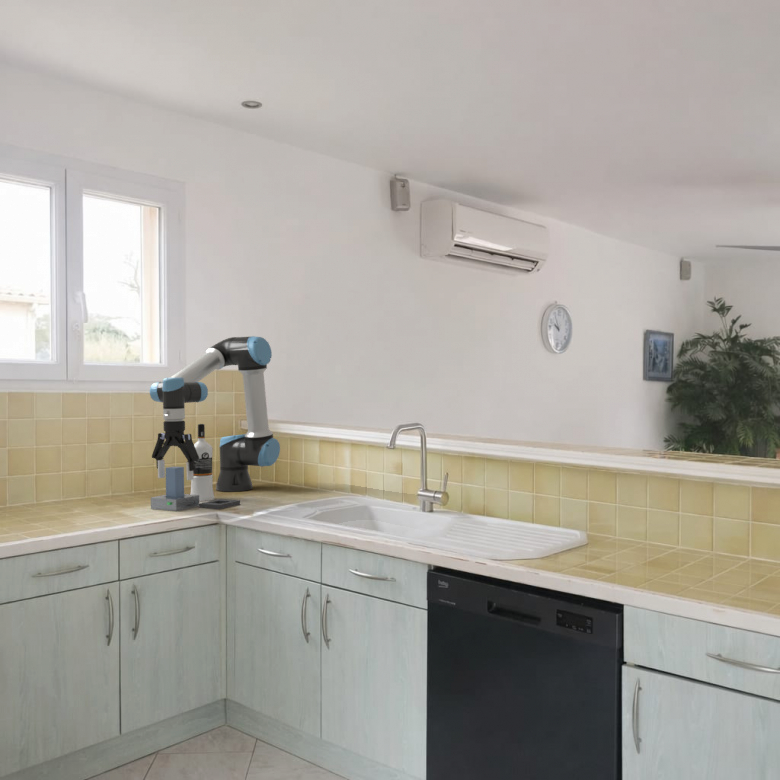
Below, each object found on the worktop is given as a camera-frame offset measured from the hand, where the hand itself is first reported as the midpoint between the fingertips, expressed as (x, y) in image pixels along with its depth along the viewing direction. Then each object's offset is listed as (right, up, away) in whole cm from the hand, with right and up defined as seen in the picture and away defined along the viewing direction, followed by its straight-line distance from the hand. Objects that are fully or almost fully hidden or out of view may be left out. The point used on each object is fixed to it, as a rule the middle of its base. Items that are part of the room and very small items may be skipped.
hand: (175, 478), depth 291 cm
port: (0, -11, 0) cm, 11 cm away
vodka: (+5, -11, +19) cm, 22 cm away
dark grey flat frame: (+16, -11, +2) cm, 19 cm away
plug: (0, -10, 0) cm, 10 cm away
